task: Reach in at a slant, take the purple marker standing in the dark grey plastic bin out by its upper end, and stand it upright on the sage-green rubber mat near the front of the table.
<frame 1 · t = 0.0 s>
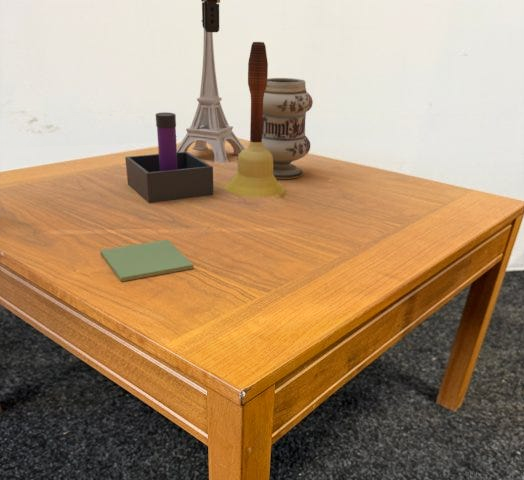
hand: (210, 30, 87), 27 cm above the table, tool pointing down, fingers open, 8 cm apart
handbell: (254, 192, 105), on the table
apothecary jar: (279, 174, 117), on the table
bin: (170, 193, 102), on the table
marker: (169, 189, 102), point 1 cm above the table, touching bin
mat: (146, 261, 76), on the table
eiffel tower: (210, 156, 128), on the table
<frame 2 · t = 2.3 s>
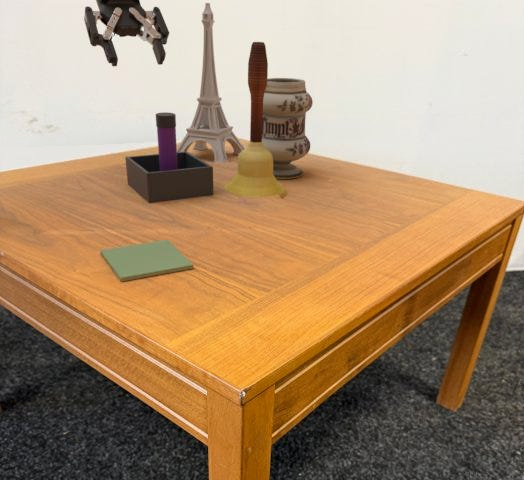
hand: (138, 62, 98), 21 cm above the table, tool tilted 45°, fingers open, 8 cm apart
nothing on the table moved.
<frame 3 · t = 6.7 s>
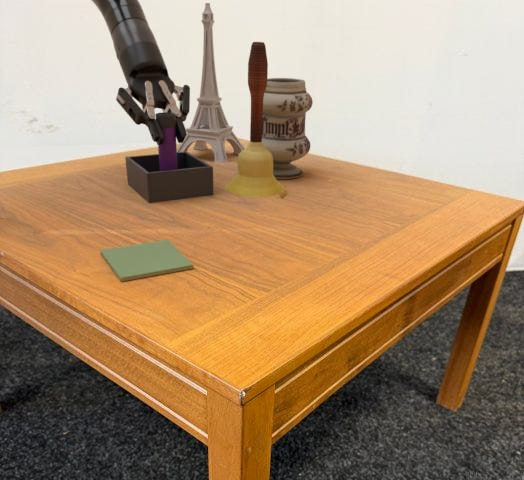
hand: (171, 140, 95), 10 cm above the table, tool tilted 45°, fingers closed on marker, 3 cm apart
marker: (169, 189, 102), point 1 cm above the table, touching bin, gripper
everything else where it was.
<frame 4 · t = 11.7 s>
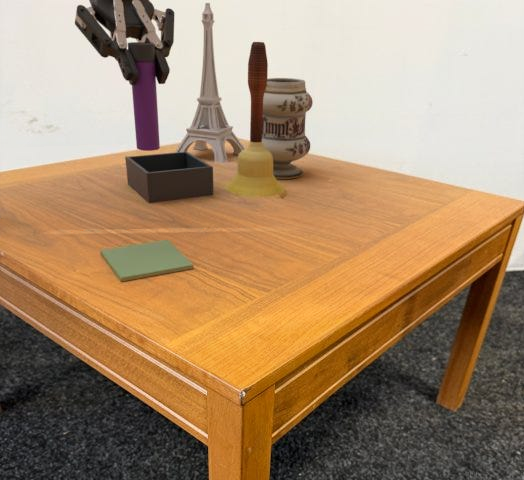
hand: (149, 79, 71), 22 cm above the table, tool tilted 45°, fingers closed on marker, 3 cm apart
marker: (148, 148, 78), point 13 cm above the table, touching gripper
everything else where it was.
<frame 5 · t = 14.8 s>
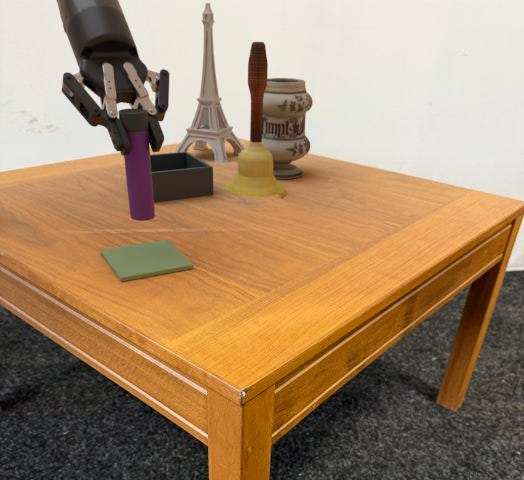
hand: (142, 149, 66), 15 cm above the table, tool tilted 45°, fingers closed on marker, 3 cm apart
marker: (142, 216, 72), point 6 cm above the table, touching gripper
everything else where it was.
when the fingers open (10 cm above the table, at t = 16.7 s): marker stays where it is, resting on mat.
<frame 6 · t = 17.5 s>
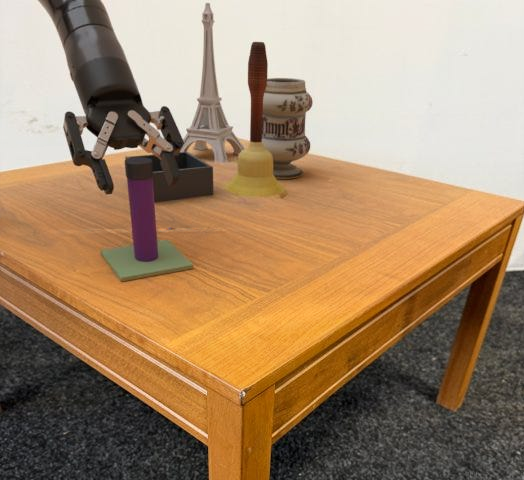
hand: (143, 187, 69), 11 cm above the table, tool tilted 45°, fingers open, 8 cm apart
marker: (146, 257, 76), point 1 cm above the table, touching mat
everything else where it was.
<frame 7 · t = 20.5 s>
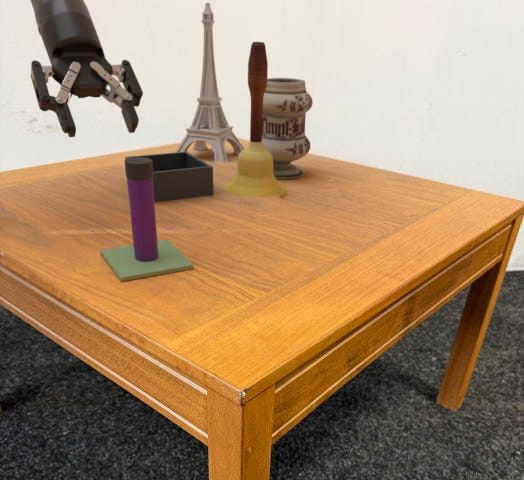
hand: (104, 131, 76), 15 cm above the table, tool tilted 45°, fingers open, 8 cm apart
nothing on the table moved.
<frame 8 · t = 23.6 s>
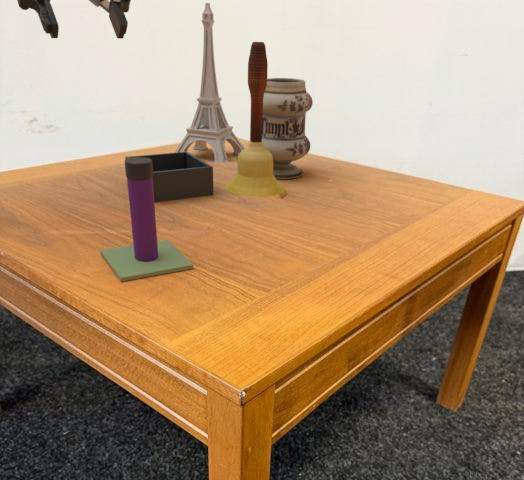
hand: (89, 33, 70), 27 cm above the table, tool tilted 45°, fingers open, 8 cm apart
nothing on the table moved.
at the end: marker inside the target area on the mat (0.1 cm from its centre), point 0.6 cm above the mat's base; marker tilted 0°; marker touching mat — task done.
